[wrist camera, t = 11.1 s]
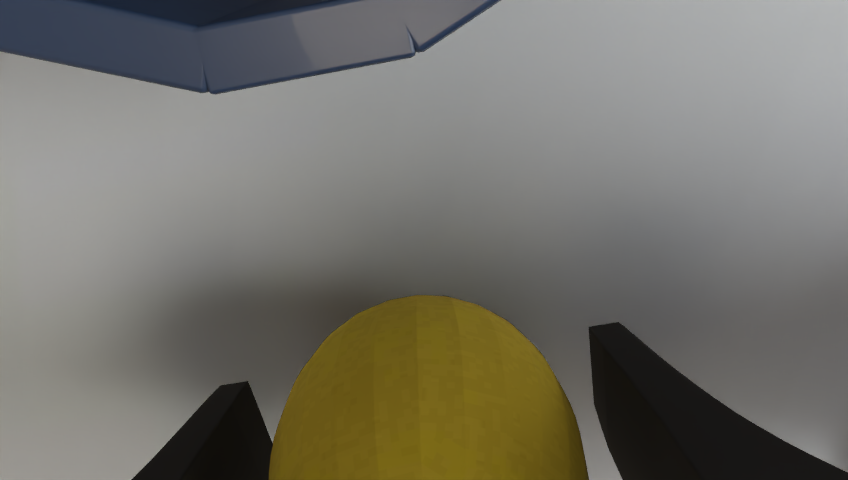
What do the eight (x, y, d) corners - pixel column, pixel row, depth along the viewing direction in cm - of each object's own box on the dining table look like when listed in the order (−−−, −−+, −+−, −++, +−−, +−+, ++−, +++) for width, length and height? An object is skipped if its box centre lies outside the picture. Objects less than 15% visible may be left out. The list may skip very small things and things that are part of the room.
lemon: (303, 225, 13) (178, 564, 6) (554, 236, 13) (722, 575, 6) (309, 419, 16) (225, 825, 8) (522, 425, 16) (615, 824, 9)
